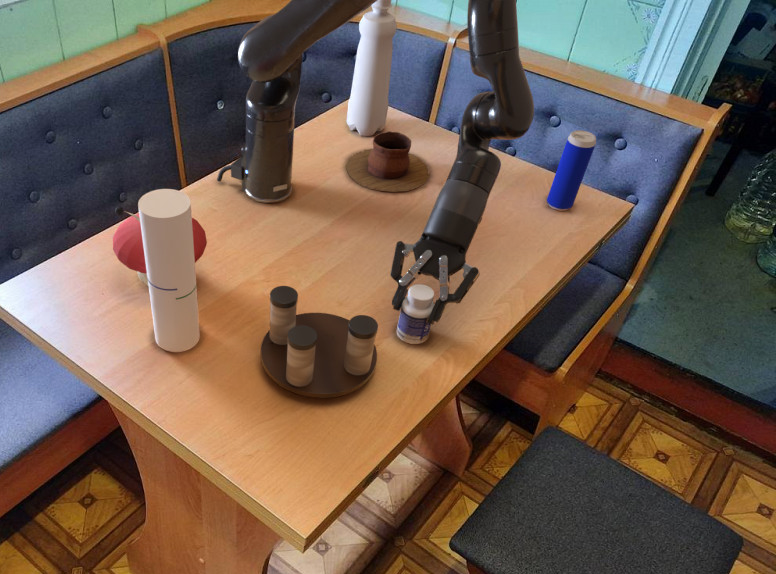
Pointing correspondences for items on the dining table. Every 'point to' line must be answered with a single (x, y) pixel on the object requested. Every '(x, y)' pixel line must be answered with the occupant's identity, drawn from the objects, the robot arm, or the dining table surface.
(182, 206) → the cylindrical container
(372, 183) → the ceramic pot
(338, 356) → the spice rack
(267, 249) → the dining table surface
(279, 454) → the dining table surface
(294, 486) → the dining table surface
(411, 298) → the pill bottle
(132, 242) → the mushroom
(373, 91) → the bottle
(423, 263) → the robot arm
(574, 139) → the beverage can
